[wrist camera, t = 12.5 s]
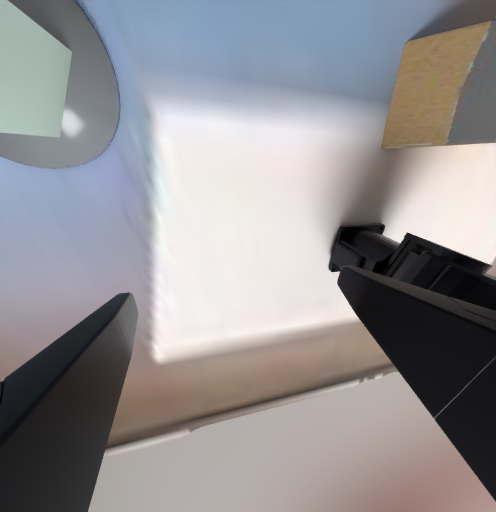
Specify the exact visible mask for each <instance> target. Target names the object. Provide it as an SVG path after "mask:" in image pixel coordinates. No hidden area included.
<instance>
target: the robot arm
mask: <svg viewBox="0 0 496 512" xmlns="http://www.w3.org/2000/svg"><path fill="white" fill-rule="evenodd" d="M384 229H385V225H384V224H381V223H379V224H364V225H349V226H342V227H341V228H340V229H339V232H338V236H337V240H336V244H335V247H334V251H333V255H332V259H331V263H330V266H329V270H330V271H331V272H338V271H340V274H339V277H338V282H337V283H338V286H339V288H340V289H341V291H342V293H343V294H344V296H345V297H346V299H347V301H348V302H349V304H350V306H351V307H352V309H353V310H354V312H355V313H356V315H357V316H358V318H359V319H360V320H361V322H362V323H363V324H364V326H365V327H366V328H367V330H368V331H369V332H370V334H371V335H372V336H373V338H374V339H375V340H376V342H377V343H378V344H379V346H380V347H381V348H382V350H383V351H384V352H385V354H386V355H387V356H388V358H389V359H390V360H391V362H392V363H393V364H394V366H395V367H396V368H397V370H398V371H399V372H400V374H401V375H402V376H403V378H404V379H405V380H406V382H407V383H408V384H409V386H410V387H411V388H412V390H413V391H414V392H415V394H416V395H417V397H418V398H419V399H420V400H421V402H422V403H423V404H424V406H425V407H426V409H427V410H428V411H429V412H430V414H431V415H432V417H433V418H435V421H436V422H437V424H438V425H439V426H440V427H441V429H442V430H443V432H444V433H445V434H446V436H447V437H448V438H449V440H450V441H451V442H452V444H453V445H454V446H455V448H456V449H457V450H458V452H459V453H460V454H461V456H462V457H463V458H464V460H465V461H466V462H467V464H468V465H469V466H470V467H471V469H472V470H473V472H474V473H475V475H476V476H477V477H478V479H479V480H480V481H481V482H482V484H483V485H484V487H485V488H486V489H487V491H488V492H489V493H490V495H491V496H492V497H493V499H494V500H495V501H496V277H493V276H491V275H489V274H486V272H487V271H488V270H489V269H490V268H491V267H492V265H489V264H487V263H484V262H482V261H479V260H477V259H474V258H472V257H469V256H467V255H464V254H462V253H459V252H457V251H454V250H451V249H449V248H446V247H444V246H441V245H439V244H436V243H433V242H431V241H428V240H426V239H423V238H420V237H418V236H415V235H412V234H410V233H406V235H405V236H404V239H403V241H402V242H401V244H400V243H398V242H396V241H394V240H392V239H390V238H387V237H385V236H383V235H382V234H383V231H384ZM343 230H344V231H343ZM137 317H138V309H137V306H136V303H135V300H134V297H133V294H132V293H130V292H129V293H120V294H118V295H116V296H115V297H113V298H112V299H111V300H109V301H108V302H107V303H105V304H104V305H103V306H101V307H100V308H99V309H97V310H96V311H95V312H93V313H92V314H91V315H89V316H88V317H87V318H85V319H84V320H83V321H81V322H80V323H79V324H77V325H76V326H75V327H73V328H72V329H70V330H69V331H68V332H66V333H65V334H64V335H62V336H61V337H60V338H58V339H57V340H56V341H54V342H53V343H52V344H50V345H49V346H48V347H46V348H45V349H44V350H42V351H41V352H40V353H38V354H37V355H35V356H34V357H33V358H31V359H30V360H29V361H27V362H26V363H25V364H23V365H22V366H21V367H19V368H18V369H17V370H15V371H14V372H13V373H11V374H10V375H9V376H7V377H6V378H5V379H4V381H1V382H0V512H88V509H89V506H90V502H91V499H92V495H93V492H94V488H95V484H96V481H97V477H98V473H99V470H100V466H101V463H102V459H103V456H104V452H105V449H106V445H107V441H108V438H109V434H110V431H111V427H112V423H113V420H114V416H115V413H116V409H117V406H118V402H119V398H120V395H121V391H122V388H123V384H124V381H125V377H126V373H127V370H128V366H129V363H130V359H131V355H132V350H133V343H134V337H135V330H136V324H137Z"/></svg>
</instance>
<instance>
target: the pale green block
mask: <svg viewBox="0 0 496 512" xmlns="http://www.w3.org/2000/svg"><path fill="white" fill-rule="evenodd" d="M71 56H72V51H71V50H69V49H68V48H67V47H66V46H64V45H63V44H62V43H61V42H59V41H58V40H57V39H56V38H54V37H53V36H52V35H51V34H49V33H48V32H47V31H46V30H44V29H43V28H42V27H41V26H39V25H38V24H37V23H36V22H34V21H33V20H32V19H31V18H29V17H28V16H27V15H26V14H24V13H23V12H22V11H21V10H19V9H18V8H17V7H16V6H14V5H13V4H12V3H11V2H9V1H8V0H0V133H11V134H23V135H35V136H47V137H59V138H60V133H61V126H62V119H63V112H64V105H65V98H66V91H67V84H68V77H69V70H70V63H71Z"/></svg>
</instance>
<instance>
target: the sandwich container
mask: <svg viewBox="0 0 496 512" xmlns="http://www.w3.org/2000/svg"><path fill="white" fill-rule="evenodd" d="M480 143H496V19H494V20H490V21H486V22H482V23H478V24H474V25H470V26H466V27H462V28H458V29H454V30H450V31H446V32H442V33H438V34H434V35H430V36H426V37H422V38H418V39H414V40H410V41H407V42H406V43H405V46H404V50H403V54H402V58H401V62H400V66H399V70H398V74H397V78H396V82H395V86H394V90H393V94H392V98H391V102H390V107H389V112H388V117H387V122H386V127H385V131H384V136H383V141H382V149H393V148H410V147H428V146H446V145H463V144H480Z"/></svg>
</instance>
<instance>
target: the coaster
mask: <svg viewBox="0 0 496 512" xmlns="http://www.w3.org/2000/svg"><path fill="white" fill-rule="evenodd" d="M8 1H9V2H11V3H12V4H13V5H14V6H16V7H17V8H18V9H19V10H21V11H22V12H23V13H24V14H26V15H27V16H28V17H29V18H31V19H32V20H33V21H34V22H36V23H37V24H38V25H39V26H41V27H42V28H43V29H44V30H46V31H47V32H48V33H49V34H51V35H52V36H53V37H54V38H56V39H57V40H58V41H59V42H61V43H62V44H63V45H64V46H66V47H67V48H68V49H69V50H71V51H72V56H71V63H70V70H69V77H68V84H67V91H66V98H65V105H64V112H63V119H62V126H61V133H60V138H59V137H47V136H35V135H23V134H11V133H0V156H1V157H4V158H6V159H9V160H12V161H14V162H17V163H21V164H25V165H28V166H34V167H39V168H51V169H57V168H69V167H74V166H79V165H82V164H85V163H88V162H90V161H91V160H93V159H95V158H97V157H98V156H99V155H100V154H102V153H103V152H104V151H105V150H106V148H107V147H108V146H109V145H110V143H111V141H112V140H113V138H114V136H115V133H116V131H117V128H118V123H119V118H120V94H119V89H118V83H117V79H116V75H115V72H114V68H113V66H112V63H111V61H110V58H109V55H108V53H107V51H106V49H105V47H104V45H103V43H102V41H101V39H100V37H99V36H98V34H97V32H96V31H95V29H94V27H93V26H92V24H91V23H90V21H89V20H88V18H87V17H86V16H85V14H84V13H83V12H82V10H81V9H80V7H79V6H78V5H77V4H76V2H75V1H74V0H8Z"/></svg>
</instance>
